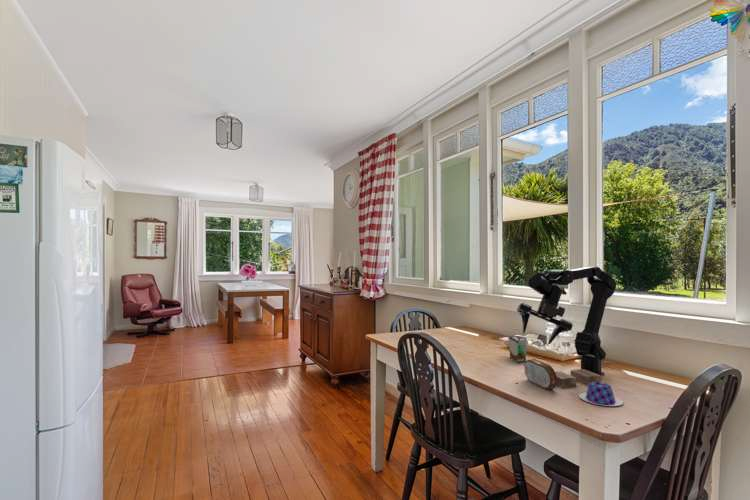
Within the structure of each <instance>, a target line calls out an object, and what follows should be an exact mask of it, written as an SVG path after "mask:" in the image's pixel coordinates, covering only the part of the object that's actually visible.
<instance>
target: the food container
mask: <svg viewBox="0 0 750 500" xmlns="http://www.w3.org/2000/svg"><path fill="white" fill-rule="evenodd" d="M508 344H509V345H508V346H509V358H510V359H511V360H513V361H514V362H515V363H517V364H525V362H526V361H527V359H526V358H527V345H528V344H529V342H528V339H527V337H526V336H525V337H524V336H521V335H513V334H512V335H510V334H509V335H508Z"/></svg>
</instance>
